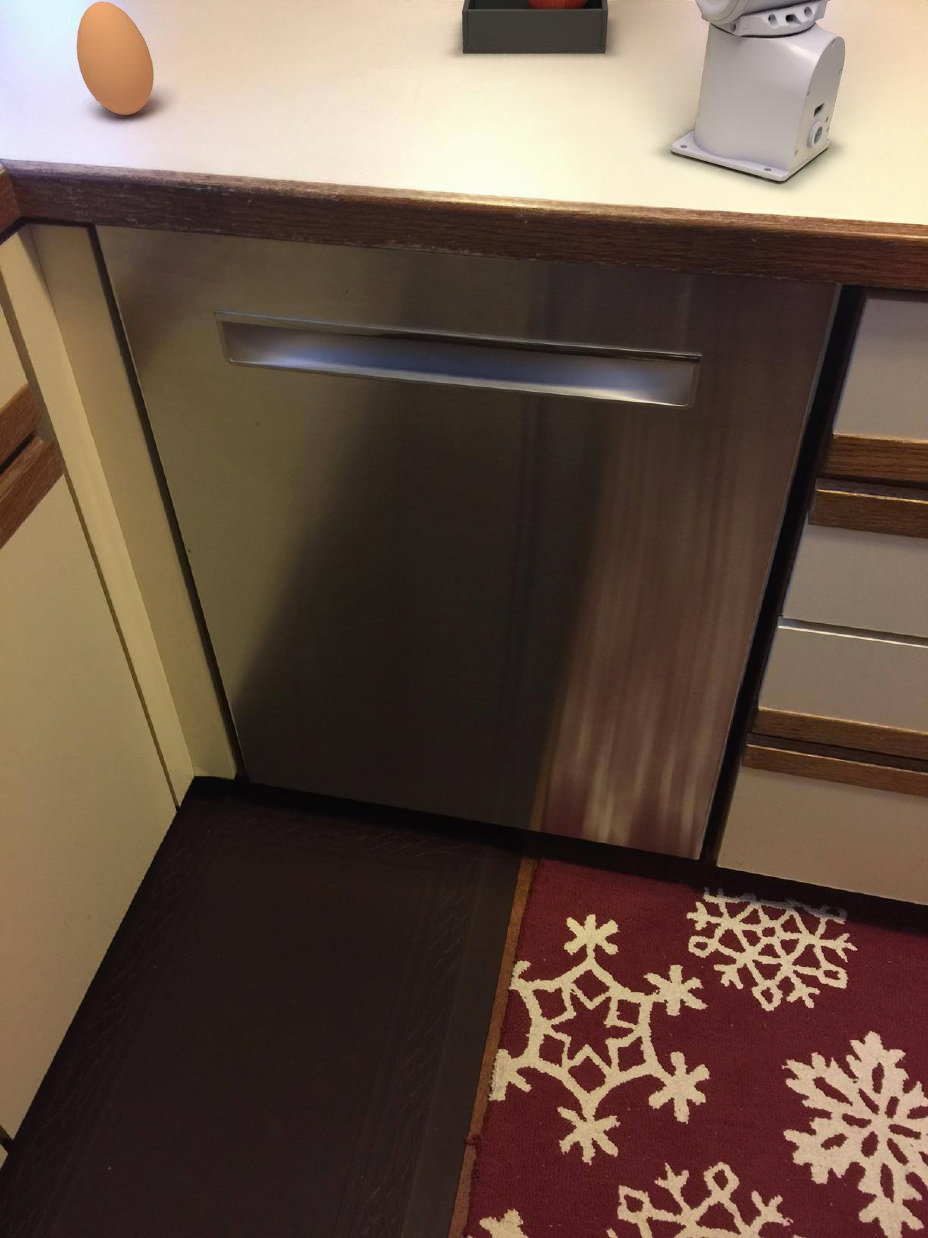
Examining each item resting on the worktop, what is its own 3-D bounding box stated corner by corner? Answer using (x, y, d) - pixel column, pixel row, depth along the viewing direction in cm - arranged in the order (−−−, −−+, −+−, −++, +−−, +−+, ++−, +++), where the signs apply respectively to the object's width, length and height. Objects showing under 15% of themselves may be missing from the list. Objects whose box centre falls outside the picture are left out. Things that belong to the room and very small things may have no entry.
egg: (83, 110, 87) (52, 0, 81) (147, 94, 89) (122, -15, 83) (107, 132, 84) (76, 19, 78) (173, 115, 86) (148, 3, 80)
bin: (603, 21, 99) (606, -20, 97) (605, 52, 93) (608, 10, 91) (469, 22, 100) (468, -19, 98) (462, 53, 94) (461, 10, 92)
